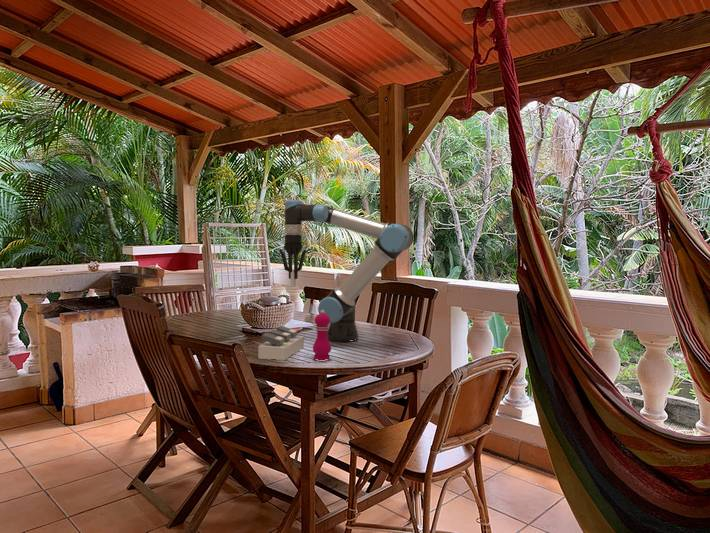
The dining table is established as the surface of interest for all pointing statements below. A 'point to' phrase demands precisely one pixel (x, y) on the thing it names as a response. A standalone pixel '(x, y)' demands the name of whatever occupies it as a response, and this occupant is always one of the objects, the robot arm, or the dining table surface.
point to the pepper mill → (322, 337)
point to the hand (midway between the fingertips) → (293, 286)
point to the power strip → (280, 349)
